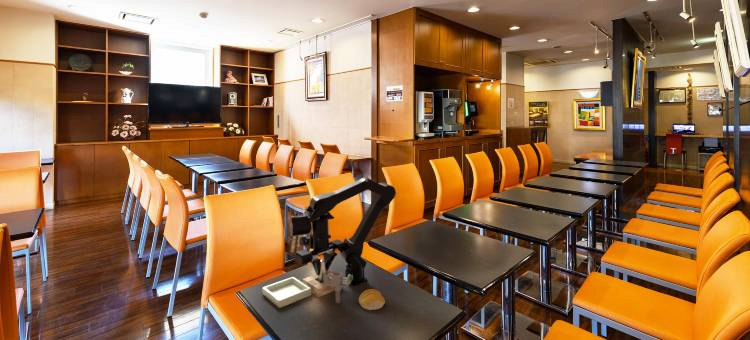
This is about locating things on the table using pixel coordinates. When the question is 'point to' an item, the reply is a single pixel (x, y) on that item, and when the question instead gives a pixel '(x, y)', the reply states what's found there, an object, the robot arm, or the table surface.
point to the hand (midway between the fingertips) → (321, 273)
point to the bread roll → (371, 299)
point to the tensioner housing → (317, 286)
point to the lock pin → (322, 270)
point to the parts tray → (286, 291)
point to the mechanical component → (336, 281)
